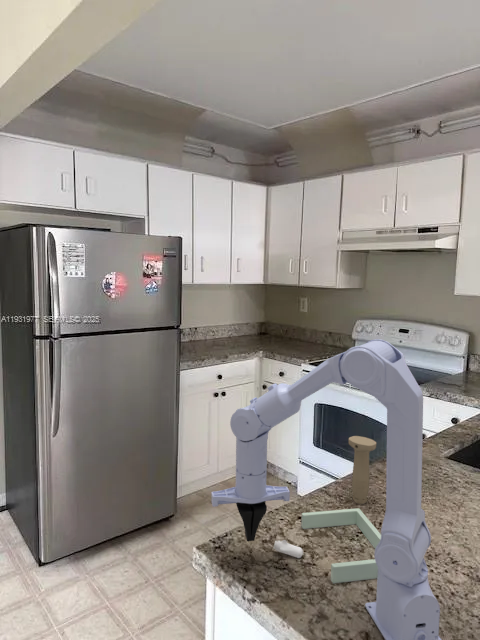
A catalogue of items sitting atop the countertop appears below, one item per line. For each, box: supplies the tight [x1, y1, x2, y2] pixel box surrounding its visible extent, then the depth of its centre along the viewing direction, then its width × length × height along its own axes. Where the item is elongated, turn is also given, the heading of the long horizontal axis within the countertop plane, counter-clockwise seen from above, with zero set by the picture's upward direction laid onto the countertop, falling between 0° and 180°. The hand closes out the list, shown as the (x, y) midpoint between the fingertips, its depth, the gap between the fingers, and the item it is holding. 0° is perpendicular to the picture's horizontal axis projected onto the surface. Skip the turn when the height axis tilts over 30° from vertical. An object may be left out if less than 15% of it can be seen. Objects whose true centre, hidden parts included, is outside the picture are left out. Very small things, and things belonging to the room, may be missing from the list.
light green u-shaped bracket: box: [300, 507, 381, 584], centre depth 89 cm, size 18×13×3 cm
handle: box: [348, 435, 377, 505], centre depth 107 cm, size 5×6×15 cm
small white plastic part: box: [273, 539, 306, 559], centre depth 86 cm, size 4×6×3 cm, turn 53°
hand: (249, 538), depth 85 cm, fingers closed
